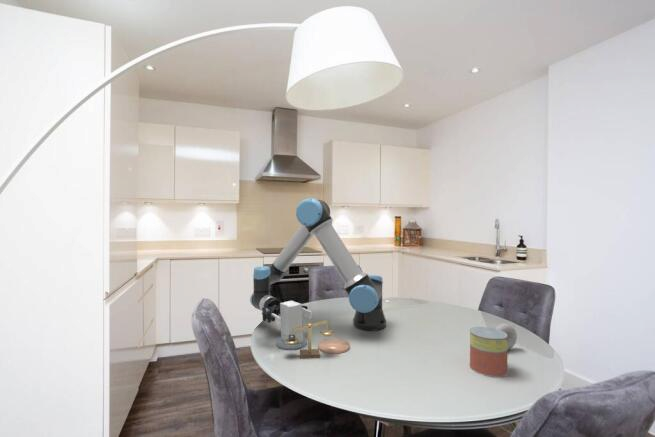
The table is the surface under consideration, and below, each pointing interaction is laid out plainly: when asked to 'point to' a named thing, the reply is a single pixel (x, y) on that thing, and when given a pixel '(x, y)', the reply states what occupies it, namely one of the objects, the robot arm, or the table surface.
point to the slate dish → (284, 346)
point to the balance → (308, 352)
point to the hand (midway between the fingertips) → (296, 318)
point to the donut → (511, 334)
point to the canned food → (488, 351)
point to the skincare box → (291, 319)
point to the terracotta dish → (333, 346)
